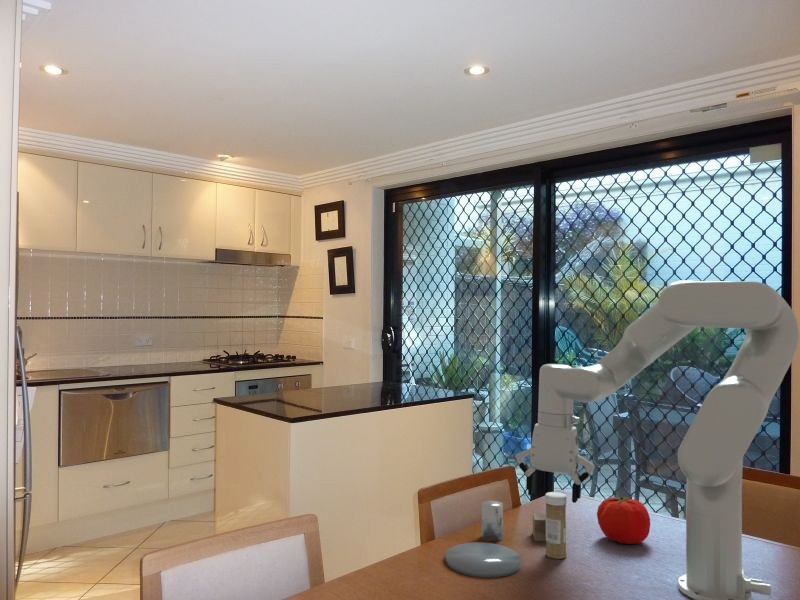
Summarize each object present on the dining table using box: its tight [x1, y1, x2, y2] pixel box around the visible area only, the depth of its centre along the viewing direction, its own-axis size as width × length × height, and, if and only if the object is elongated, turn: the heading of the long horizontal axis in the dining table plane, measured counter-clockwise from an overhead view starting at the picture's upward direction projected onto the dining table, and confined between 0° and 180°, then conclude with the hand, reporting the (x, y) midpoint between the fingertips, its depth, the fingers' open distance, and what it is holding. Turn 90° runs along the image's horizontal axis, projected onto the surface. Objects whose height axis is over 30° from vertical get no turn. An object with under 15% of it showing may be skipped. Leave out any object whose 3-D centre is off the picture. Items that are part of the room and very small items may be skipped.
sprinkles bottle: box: [544, 491, 568, 560], centre depth 135 cm, size 5×5×13 cm
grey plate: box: [445, 541, 522, 578], centre depth 131 cm, size 16×16×1 cm
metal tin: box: [481, 500, 504, 542], centre depth 145 cm, size 5×5×8 cm
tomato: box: [596, 495, 651, 545], centre depth 144 cm, size 12×12×10 cm
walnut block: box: [532, 512, 546, 542], centre depth 146 cm, size 5×5×5 cm
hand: (552, 497), depth 135 cm, fingers open, 9 cm apart
